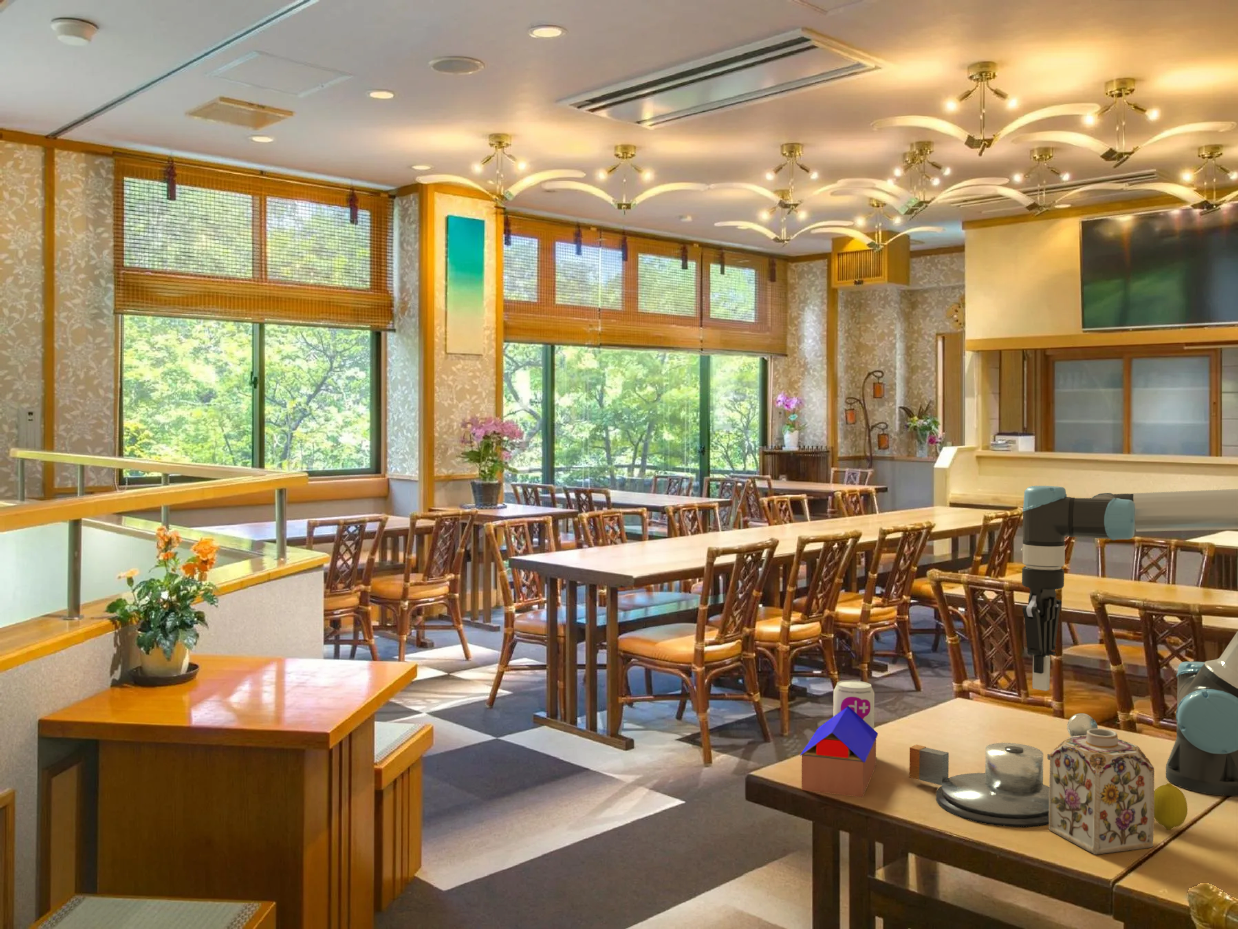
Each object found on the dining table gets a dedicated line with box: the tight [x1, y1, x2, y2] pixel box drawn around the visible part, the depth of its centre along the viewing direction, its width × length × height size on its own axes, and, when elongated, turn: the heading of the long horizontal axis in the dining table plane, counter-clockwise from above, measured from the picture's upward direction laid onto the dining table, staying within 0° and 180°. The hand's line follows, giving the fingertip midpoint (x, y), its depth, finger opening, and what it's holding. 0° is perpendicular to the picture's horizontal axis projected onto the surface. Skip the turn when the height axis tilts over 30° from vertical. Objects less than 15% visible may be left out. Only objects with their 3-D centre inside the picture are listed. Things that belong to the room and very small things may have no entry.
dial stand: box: [1047, 713, 1099, 761], centre depth 196 cm, size 8×4×16 cm, turn 86°
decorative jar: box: [1048, 728, 1155, 856], centre depth 178 cm, size 12×12×18 cm
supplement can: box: [832, 680, 875, 730], centre depth 222 cm, size 8×8×15 cm
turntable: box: [908, 744, 1049, 818], centre depth 197 cm, size 27×20×6 cm
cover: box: [984, 742, 1044, 792], centre depth 198 cm, size 10×10×6 cm
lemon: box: [1154, 782, 1188, 831], centre depth 182 cm, size 6×6×8 cm
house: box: [799, 706, 879, 798], centre depth 209 cm, size 12×20×12 cm, turn 160°
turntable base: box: [935, 785, 1049, 828], centre depth 194 cm, size 22×22×1 cm
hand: (1040, 688), depth 207 cm, fingers closed
